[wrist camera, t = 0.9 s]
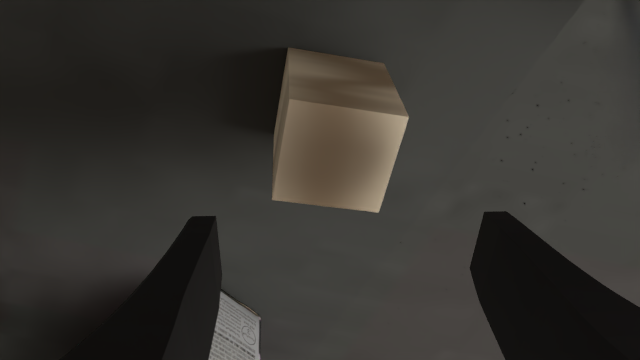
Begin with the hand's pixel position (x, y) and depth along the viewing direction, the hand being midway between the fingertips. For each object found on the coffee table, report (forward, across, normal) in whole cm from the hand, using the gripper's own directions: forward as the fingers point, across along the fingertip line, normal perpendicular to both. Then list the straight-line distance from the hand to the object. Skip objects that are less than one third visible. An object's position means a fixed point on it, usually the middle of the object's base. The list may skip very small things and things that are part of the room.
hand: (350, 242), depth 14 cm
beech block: (+10, 0, 0) cm, 10 cm away
